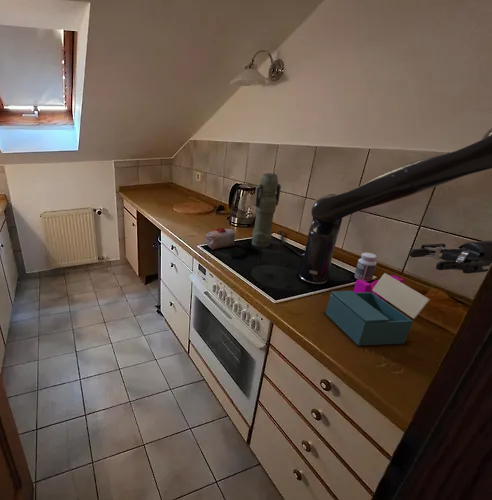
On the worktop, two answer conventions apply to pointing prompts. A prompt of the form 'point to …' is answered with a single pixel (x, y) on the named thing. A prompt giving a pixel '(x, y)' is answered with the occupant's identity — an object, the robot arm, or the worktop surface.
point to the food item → (220, 238)
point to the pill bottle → (366, 267)
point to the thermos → (265, 209)
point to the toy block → (370, 286)
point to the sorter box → (368, 318)
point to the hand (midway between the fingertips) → (423, 259)
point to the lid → (401, 295)
